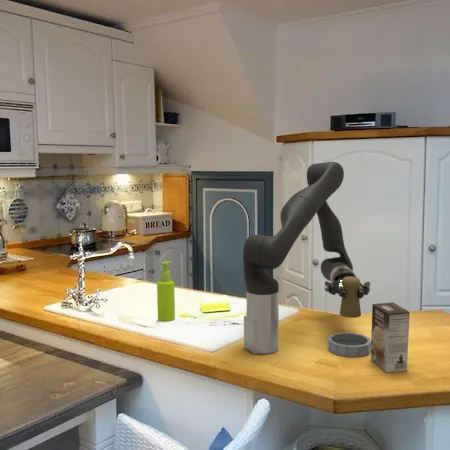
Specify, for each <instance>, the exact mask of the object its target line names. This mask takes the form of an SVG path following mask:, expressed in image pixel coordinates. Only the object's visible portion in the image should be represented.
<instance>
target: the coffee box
mask: <svg viewBox="0 0 450 450" xmlns="http://www.w3.org/2000/svg"><path fill="white" fill-rule="evenodd" d="M371 305H372V310H371V338H370V339H371V352H370V361H371V362H373V363H374V364H375V365H376V366H378V367H379V368H380V370H382V371H383V372H385V373H396V372H406V371H408V357H409V355H408V353H409V352H408V350H409V333H410V313H411V312H410V311H408V310H407V309H405V308H403V307H402V306H400V305H398V304H397V303H395V302H382V303H372V304H371Z"/></svg>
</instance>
